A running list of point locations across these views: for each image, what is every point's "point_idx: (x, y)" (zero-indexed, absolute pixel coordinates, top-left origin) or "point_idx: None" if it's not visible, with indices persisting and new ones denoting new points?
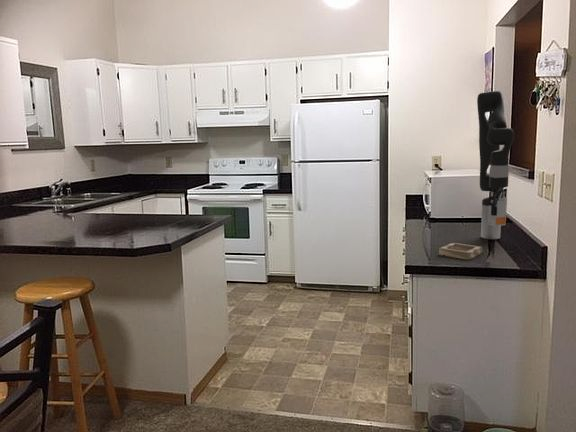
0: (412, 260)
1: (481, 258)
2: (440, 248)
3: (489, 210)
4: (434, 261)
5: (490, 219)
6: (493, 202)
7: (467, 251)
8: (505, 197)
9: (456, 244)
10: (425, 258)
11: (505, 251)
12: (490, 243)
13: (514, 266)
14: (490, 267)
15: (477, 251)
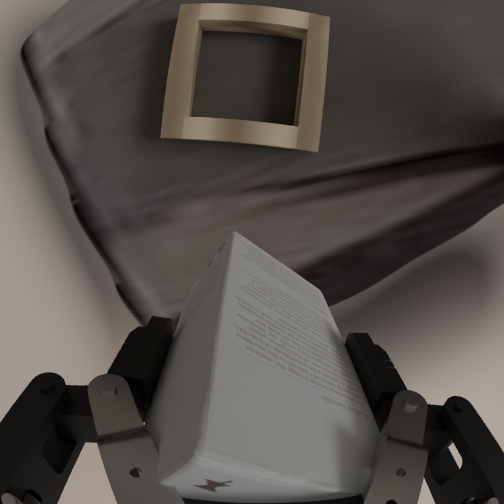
0: (75, 3)
1: (215, 175)
2: (182, 8)
3: (211, 302)
4: (87, 54)
5: (209, 273)
6: (150, 436)
7: (182, 120)
8: (427, 484)
9: (306, 35)
10: (113, 11)
11: (379, 231)
12: (470, 156)
13: (169, 308)
14: (110, 245)
15: (258, 144)
